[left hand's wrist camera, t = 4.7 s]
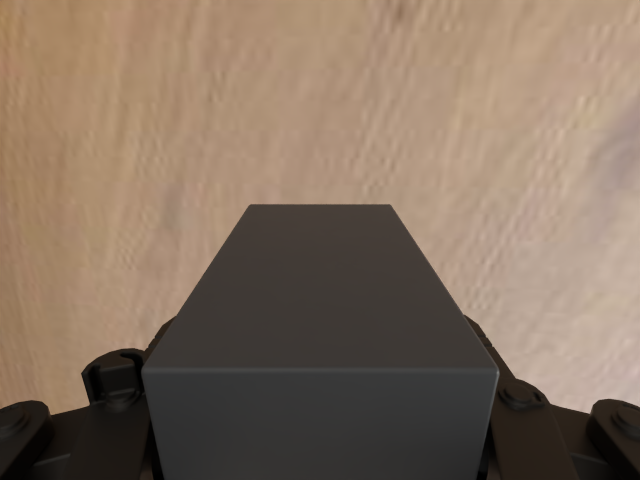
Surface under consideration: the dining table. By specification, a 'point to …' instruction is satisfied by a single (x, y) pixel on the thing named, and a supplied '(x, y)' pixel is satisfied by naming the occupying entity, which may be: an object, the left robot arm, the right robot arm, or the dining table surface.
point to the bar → (320, 358)
